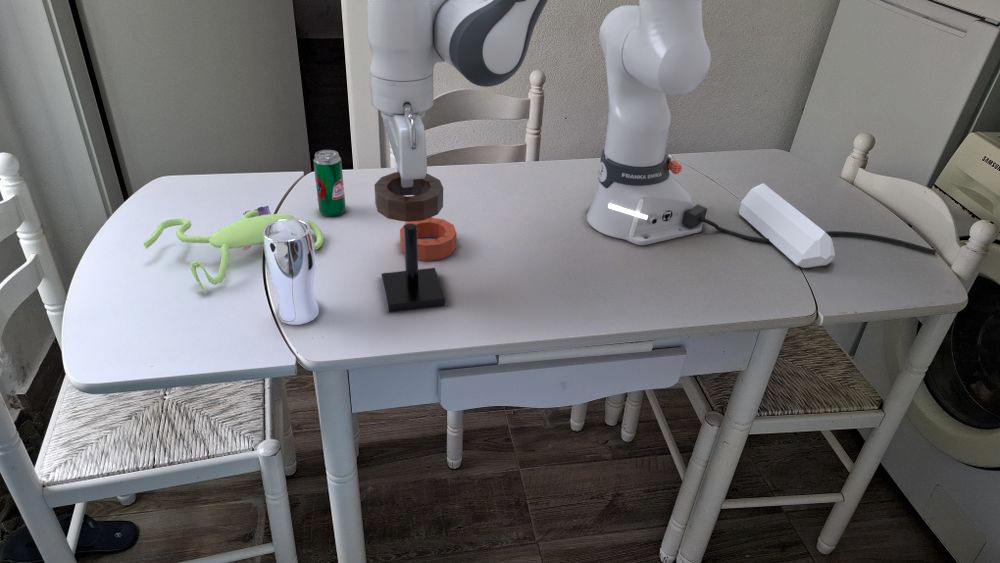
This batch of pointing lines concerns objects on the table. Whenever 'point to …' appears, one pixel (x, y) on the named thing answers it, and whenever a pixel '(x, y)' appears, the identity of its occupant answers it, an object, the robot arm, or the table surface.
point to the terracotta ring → (436, 230)
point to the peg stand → (412, 281)
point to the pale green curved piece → (230, 237)
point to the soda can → (329, 183)
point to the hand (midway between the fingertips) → (405, 180)
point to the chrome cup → (292, 269)
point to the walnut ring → (408, 198)
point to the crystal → (787, 228)
